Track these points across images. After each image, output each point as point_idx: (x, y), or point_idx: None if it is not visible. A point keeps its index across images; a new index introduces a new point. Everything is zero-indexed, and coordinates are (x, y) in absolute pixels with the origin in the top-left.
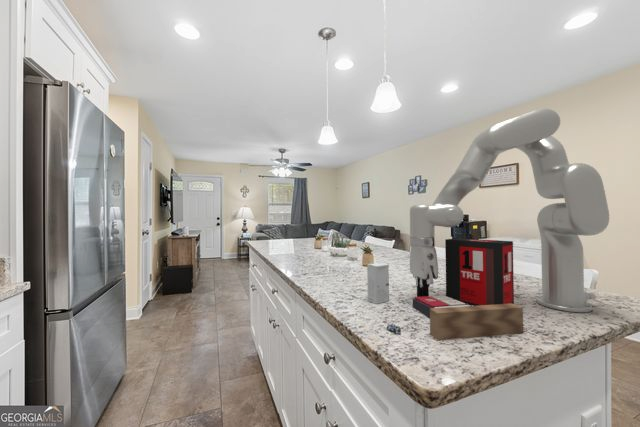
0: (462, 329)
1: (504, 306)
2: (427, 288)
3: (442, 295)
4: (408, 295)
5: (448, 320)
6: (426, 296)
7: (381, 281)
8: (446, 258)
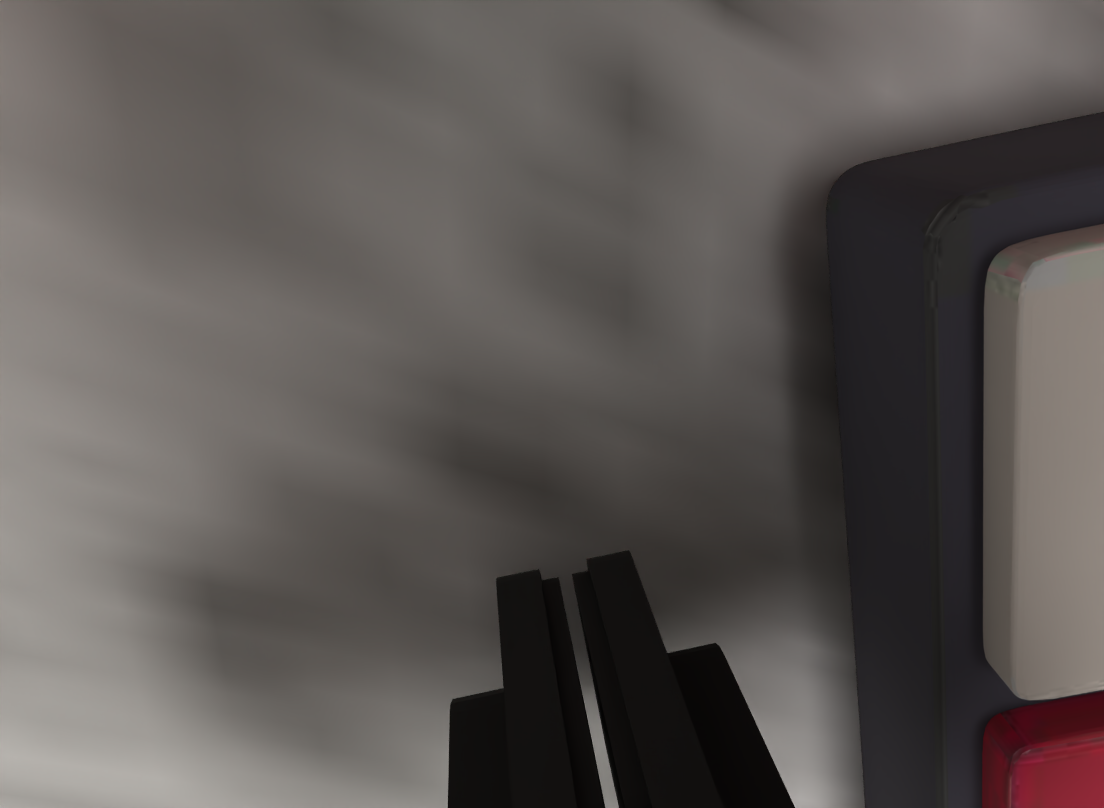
0: None
1: None
2: (712, 797)
3: (1054, 326)
4: (93, 803)
5: None
6: (1050, 805)
7: None
8: None
